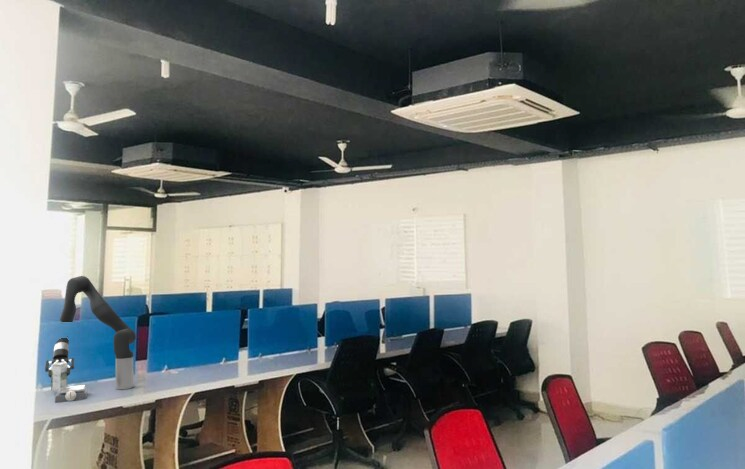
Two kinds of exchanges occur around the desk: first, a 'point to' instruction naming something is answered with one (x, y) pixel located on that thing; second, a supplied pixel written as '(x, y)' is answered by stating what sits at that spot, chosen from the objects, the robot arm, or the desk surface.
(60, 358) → the robot arm
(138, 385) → the desk surface
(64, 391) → the scale pan
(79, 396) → the scale base
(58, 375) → the syrup box
